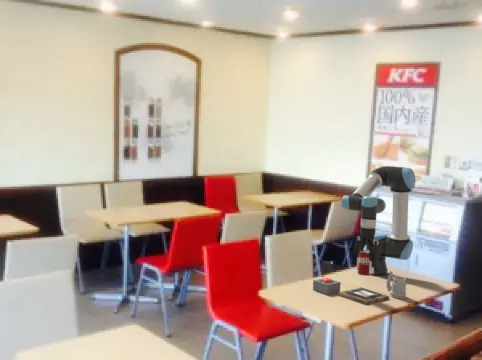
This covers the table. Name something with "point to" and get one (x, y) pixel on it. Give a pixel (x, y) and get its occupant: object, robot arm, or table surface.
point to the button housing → (326, 286)
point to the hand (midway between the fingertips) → (365, 271)
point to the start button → (327, 280)
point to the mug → (397, 286)
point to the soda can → (364, 263)
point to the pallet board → (363, 295)
